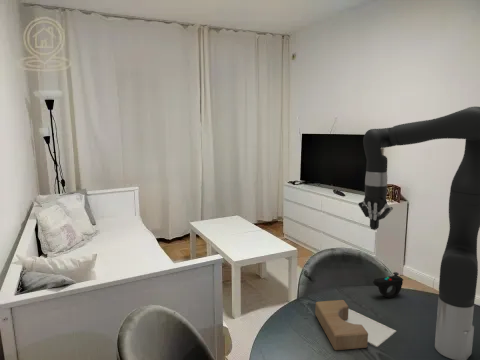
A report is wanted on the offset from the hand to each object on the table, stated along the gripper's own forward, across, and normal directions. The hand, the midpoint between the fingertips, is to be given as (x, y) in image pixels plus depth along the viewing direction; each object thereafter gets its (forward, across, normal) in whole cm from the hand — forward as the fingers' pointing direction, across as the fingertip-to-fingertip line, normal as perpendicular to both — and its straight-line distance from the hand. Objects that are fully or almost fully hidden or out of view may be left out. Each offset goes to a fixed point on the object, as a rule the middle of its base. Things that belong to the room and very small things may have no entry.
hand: (374, 229), depth 127 cm
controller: (+32, 0, -13) cm, 35 cm away
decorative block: (+29, +8, +16) cm, 34 cm away
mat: (+32, -4, +14) cm, 35 cm away
